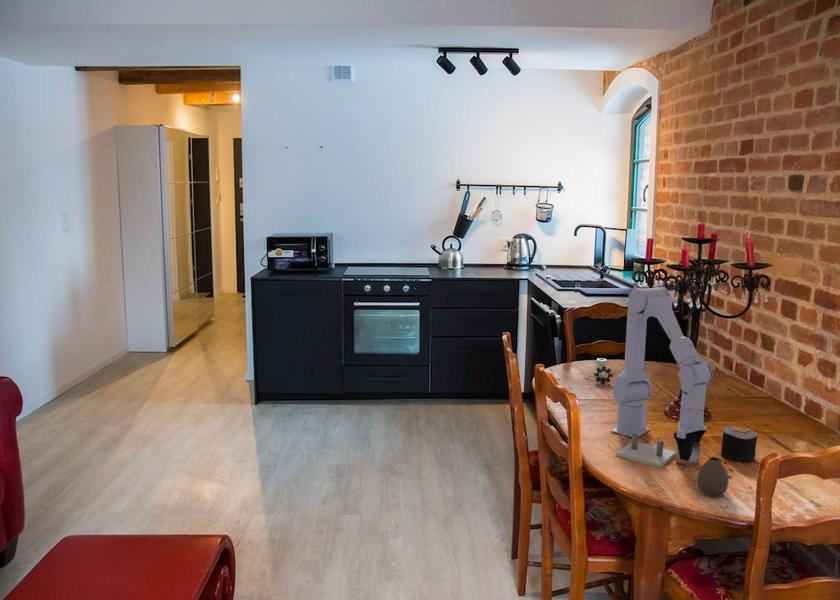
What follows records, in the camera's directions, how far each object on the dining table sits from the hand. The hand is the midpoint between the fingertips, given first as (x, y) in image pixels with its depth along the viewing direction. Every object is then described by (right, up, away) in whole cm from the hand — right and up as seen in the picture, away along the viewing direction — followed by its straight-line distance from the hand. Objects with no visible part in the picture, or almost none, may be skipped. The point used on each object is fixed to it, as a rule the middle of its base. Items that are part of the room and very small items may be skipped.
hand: (687, 456), depth 190 cm
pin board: (-10, -1, +4) cm, 11 cm away
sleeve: (0, -1, 0) cm, 1 cm away
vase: (-1, -5, -18) cm, 19 cm away
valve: (-4, +12, +76) cm, 77 cm away
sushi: (+15, -1, +5) cm, 16 cm away
